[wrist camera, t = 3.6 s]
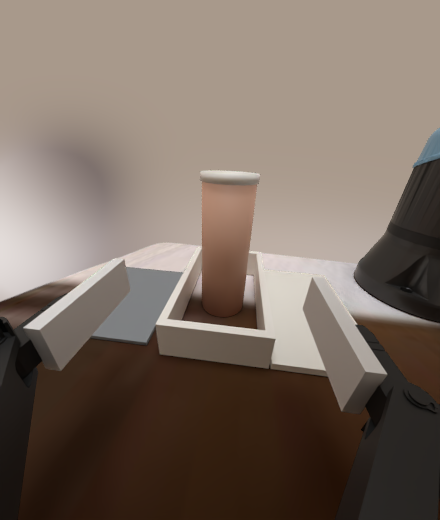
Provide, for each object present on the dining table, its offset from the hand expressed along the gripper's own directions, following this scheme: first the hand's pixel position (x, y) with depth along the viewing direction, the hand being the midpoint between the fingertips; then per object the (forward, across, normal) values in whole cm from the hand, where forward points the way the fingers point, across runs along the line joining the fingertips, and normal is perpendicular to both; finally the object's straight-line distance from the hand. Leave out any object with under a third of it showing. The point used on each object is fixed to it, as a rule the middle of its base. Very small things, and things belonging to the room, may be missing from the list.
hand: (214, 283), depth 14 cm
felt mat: (+8, -12, -10) cm, 17 cm away
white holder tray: (+9, +6, -9) cm, 15 cm away
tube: (+10, 0, -10) cm, 13 cm away
